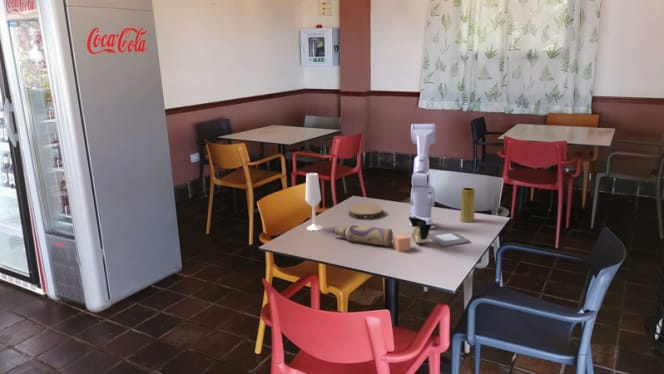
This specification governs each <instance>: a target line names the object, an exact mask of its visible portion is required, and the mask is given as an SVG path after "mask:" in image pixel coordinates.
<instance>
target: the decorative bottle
mask: <svg viewBox="0 0 664 374" xmlns="http://www.w3.org/2000/svg"><path fill="white" fill-rule="evenodd" d="M331 233H333V234H334V235H337V236H340V237H342V238H346V240H347V241H349V242H354V243H355V242H356V243H362V244H369V245H378V246H384V247H385V246H386V247H390V246H391V245H392V244H393V235H394V234H393V233H394V232H393V230H392V229H391V228H385V227H377V226H368V225H358V224H349V226H348V227H334V228H332V229H331Z"/></svg>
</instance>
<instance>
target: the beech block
mask: <svg viewBox="0 0 664 374" xmlns="http://www.w3.org/2000/svg"><path fill="white" fill-rule="evenodd" d="M429 234H430V231H429V232H428V236H427V239H423V240H422V239H421V236H420V229H419V226H415V227H412V226H411V240H412V241H414V242H415V243H416V244H422V243H426V242H427V243H428V242H430V238H429Z"/></svg>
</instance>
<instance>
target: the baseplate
mask: <svg viewBox="0 0 664 374" xmlns="http://www.w3.org/2000/svg"><path fill="white" fill-rule="evenodd" d="M429 240H432V241H433V242H435V243H436V244H438V245H439V246H440V247H443V248H447V247H451V246H453V247H454V246H459V245H464V244H471V243H472V242H471V240H469V239H468V238H466V237H464V236H462V235H461V234H459V233H457V232H456V231H453V230H452V229H451V230H445V231H438V232H432V233H430V232H429Z"/></svg>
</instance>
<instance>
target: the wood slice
mask: <svg viewBox="0 0 664 374" xmlns="http://www.w3.org/2000/svg"><path fill="white" fill-rule="evenodd" d="M348 215H349V216H348V217H350V218H353V219H355V220H361V221H362V220H364V221H367V220H375V219H379V218H382V217H383V215H384V207H382V206H381V205H378V204H371V203H362V204H361V203H360V204H356V205H353V206H352V205H351V206H350V207H349V208H348Z"/></svg>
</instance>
